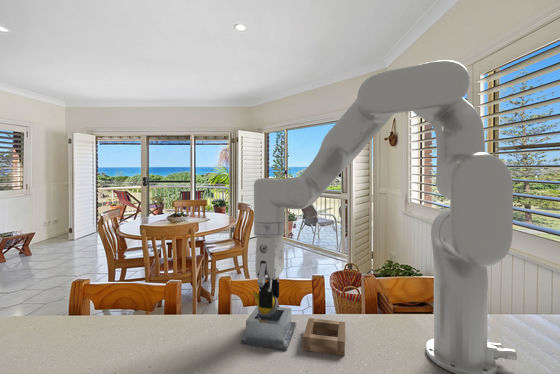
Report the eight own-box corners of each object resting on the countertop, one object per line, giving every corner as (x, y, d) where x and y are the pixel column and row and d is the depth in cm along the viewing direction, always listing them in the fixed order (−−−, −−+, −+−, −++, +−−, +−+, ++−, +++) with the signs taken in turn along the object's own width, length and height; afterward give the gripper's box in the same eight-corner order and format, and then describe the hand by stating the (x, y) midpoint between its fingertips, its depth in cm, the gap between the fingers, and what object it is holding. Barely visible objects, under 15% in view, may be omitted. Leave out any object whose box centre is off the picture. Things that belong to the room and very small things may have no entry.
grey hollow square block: (296, 326, 73) (295, 307, 73) (286, 350, 63) (286, 328, 63) (255, 321, 76) (255, 303, 76) (240, 343, 65) (240, 322, 65)
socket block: (345, 334, 69) (345, 321, 69) (344, 355, 61) (344, 341, 61) (308, 329, 72) (308, 318, 72) (303, 350, 63) (303, 336, 63)
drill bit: (284, 319, 68) (260, 299, 63) (266, 325, 70) (241, 306, 65) (284, 299, 73) (262, 278, 68) (267, 305, 74) (244, 285, 69)
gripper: (275, 235, 60) (275, 320, 60) (291, 224, 77) (291, 290, 77) (242, 234, 62) (242, 316, 62) (264, 223, 78) (265, 288, 79)
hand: (269, 301), depth 69 cm, fingers closed on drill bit, 5 cm apart
